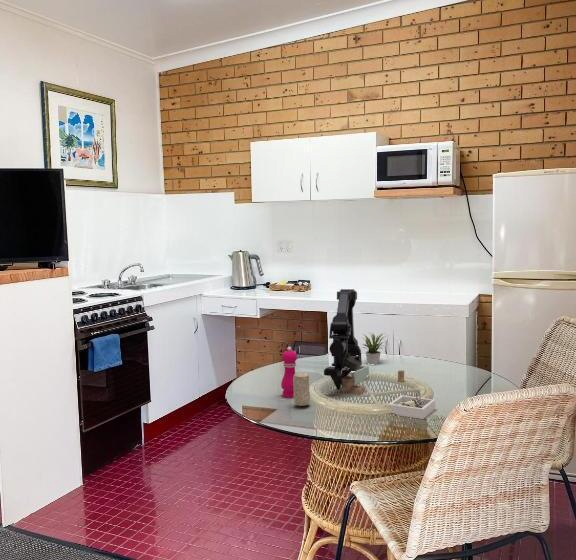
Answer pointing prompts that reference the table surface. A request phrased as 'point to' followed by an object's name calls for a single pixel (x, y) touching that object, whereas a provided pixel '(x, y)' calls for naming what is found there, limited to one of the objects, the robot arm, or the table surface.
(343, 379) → the brown boot
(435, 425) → the table surface
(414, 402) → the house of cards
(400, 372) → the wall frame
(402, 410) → the tray
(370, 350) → the house plant
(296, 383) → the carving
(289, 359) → the pepper mill
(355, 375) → the door
